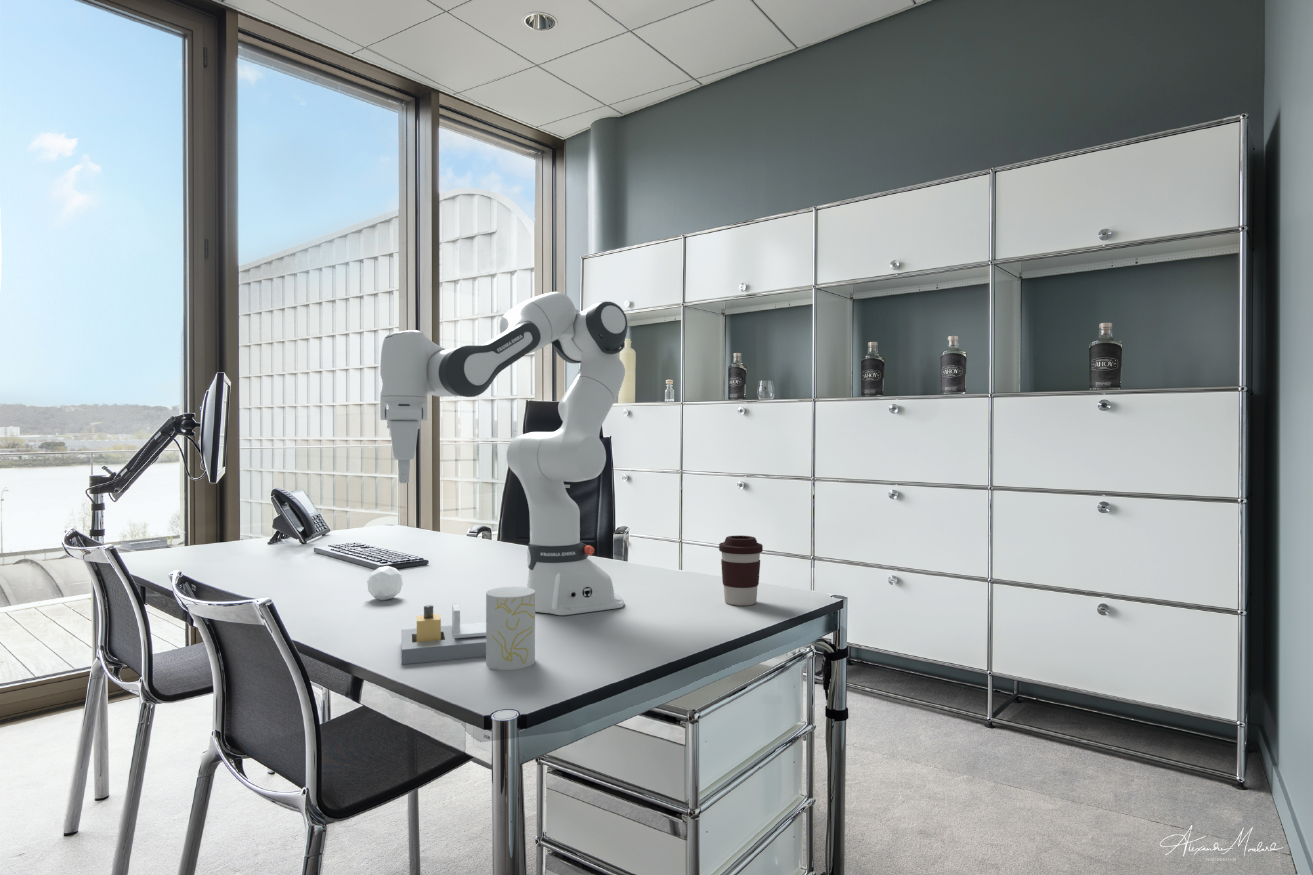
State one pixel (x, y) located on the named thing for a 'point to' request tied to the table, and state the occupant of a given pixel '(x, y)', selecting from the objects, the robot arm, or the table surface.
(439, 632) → the plug
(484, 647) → the socket board
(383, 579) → the geometric ball
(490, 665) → the cup
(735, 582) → the coffee cup
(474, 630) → the white l-shaped bracket
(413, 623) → the table surface
